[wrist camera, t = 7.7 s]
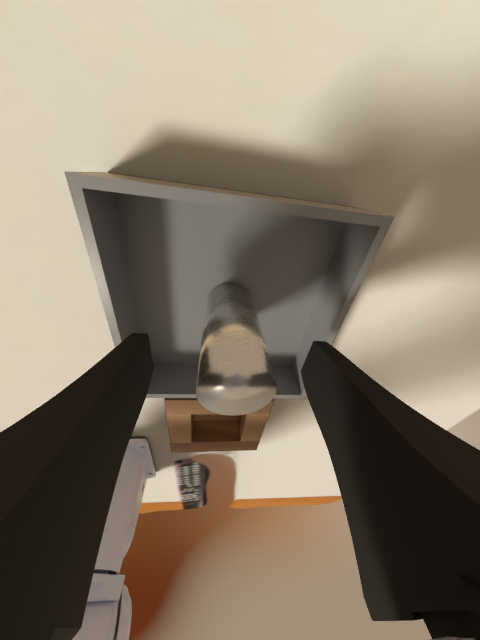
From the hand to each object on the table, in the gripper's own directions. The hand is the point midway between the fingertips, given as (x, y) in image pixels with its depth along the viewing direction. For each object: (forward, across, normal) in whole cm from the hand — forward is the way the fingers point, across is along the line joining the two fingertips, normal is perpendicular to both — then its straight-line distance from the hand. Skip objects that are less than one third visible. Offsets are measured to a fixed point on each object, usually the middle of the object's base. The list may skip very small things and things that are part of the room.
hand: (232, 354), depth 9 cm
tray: (+5, 0, 0) cm, 5 cm away
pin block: (+5, 0, +11) cm, 12 cm away
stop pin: (+4, 0, 0) cm, 5 cm away
